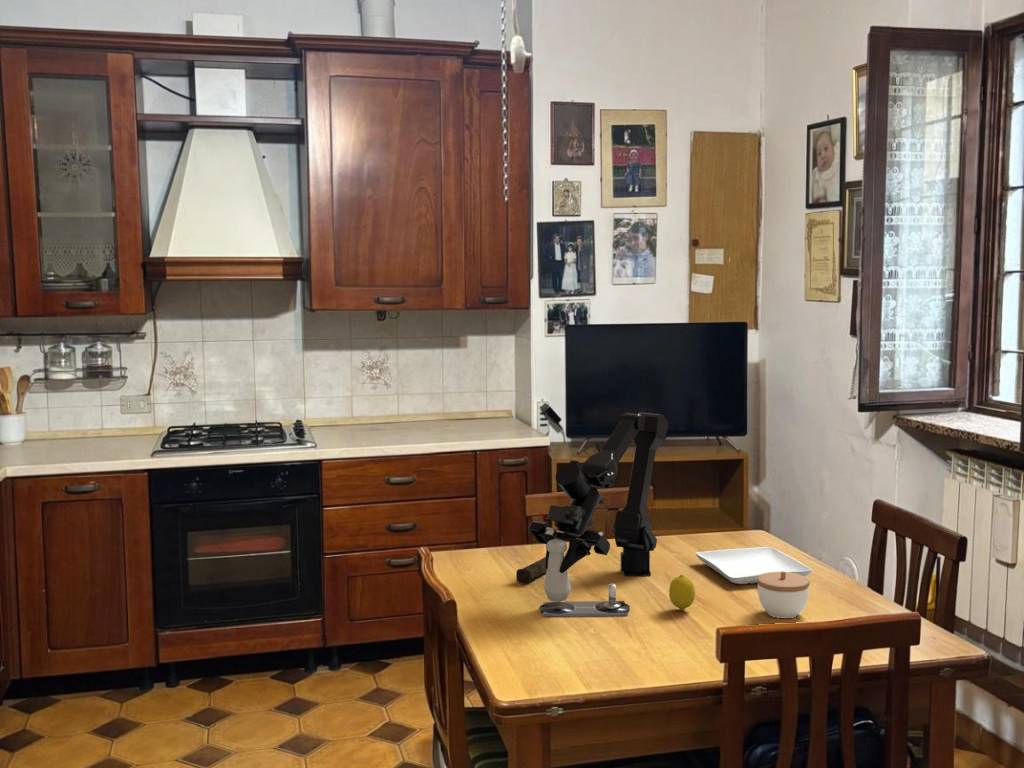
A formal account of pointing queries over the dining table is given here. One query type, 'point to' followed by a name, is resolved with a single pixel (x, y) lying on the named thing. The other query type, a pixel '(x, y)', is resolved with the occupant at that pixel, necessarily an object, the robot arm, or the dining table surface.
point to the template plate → (582, 609)
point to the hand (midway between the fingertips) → (553, 570)
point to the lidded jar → (783, 593)
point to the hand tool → (531, 571)
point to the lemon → (682, 592)
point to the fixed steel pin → (612, 598)
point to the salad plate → (751, 563)
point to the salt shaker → (556, 572)
